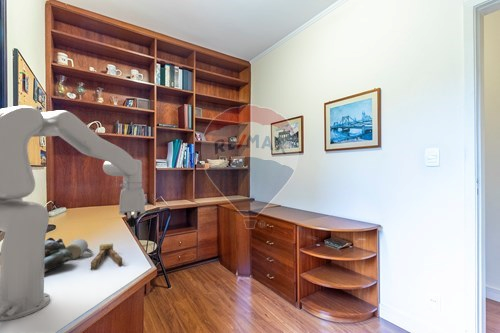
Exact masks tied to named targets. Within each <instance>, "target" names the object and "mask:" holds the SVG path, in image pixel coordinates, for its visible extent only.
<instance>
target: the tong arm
mask: <svg viewBox="0 0 500 333" xmlns="http://www.w3.org/2000/svg"><path fill="white" fill-rule="evenodd" d="M108 257H109V258H111V259H112V261H113V262H114V263H115V264H116V265H117V266H118V267H121V266H123V257H122V256H121V255H119V253H117V252H116V250H115V249H114V248H113V249H110V250H109V255H108Z"/></svg>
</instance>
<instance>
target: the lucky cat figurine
mask: <svg viewBox="0 0 500 333" xmlns="http://www.w3.org/2000/svg"><path fill="white" fill-rule="evenodd" d="M66 247H67V246H66V245H65V243H64V242H63V239H62V238H57V239H56V240H55V239H54V238H53V237H49V238H47V239H45V262H44V273H47V272H48V271H50V270H52V269H53V268H54V269H55V268H56V267H58V266H60V265H64V264H66V263H67V262H69V261H72V260H73V259H72V258H73V255H72V253H71V252H70V251H69V250H67V249H66Z"/></svg>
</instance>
